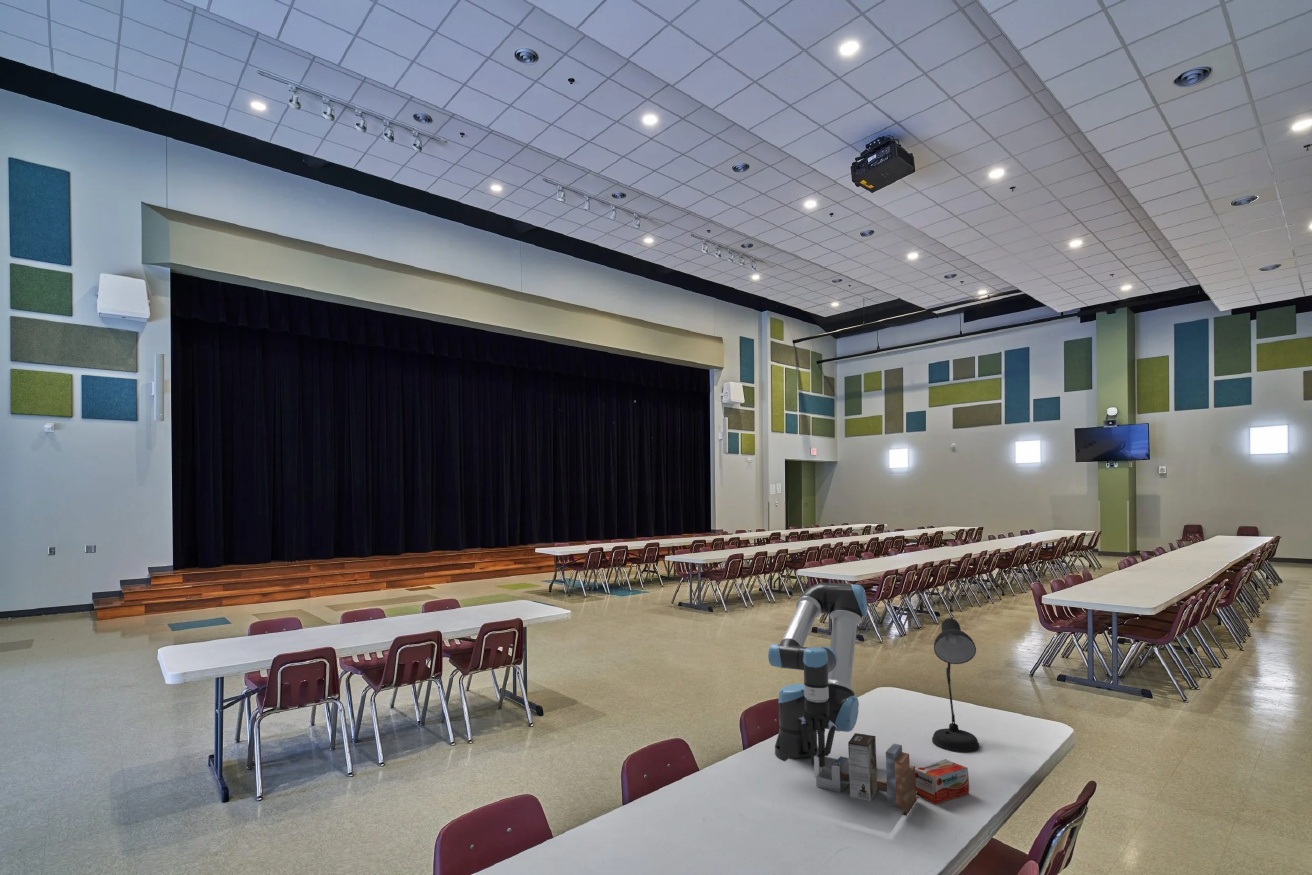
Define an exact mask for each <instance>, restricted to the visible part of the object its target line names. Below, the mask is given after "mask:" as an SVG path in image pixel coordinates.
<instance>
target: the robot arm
mask: <svg viewBox="0 0 1312 875" xmlns="http://www.w3.org/2000/svg"><path fill="white" fill-rule="evenodd" d="M795 604H796V605H795V608H796V609H795V612H794V613H793V616H792V617H791V620H790V622H789V624H788V626H787V629H786V631H785V632H784V635H783V637H782V639H781V641H780V643H772V644H770V645H769V648H768V654H767V655H768V656H767V658H768V662H769V663H768V664H770V666H772V667H776V668H780V669H790V670H799V671H803V683H794V684H788V685H785V686H783V687H781V688H780V689H779V691H778V701H777V703H778V718H779V720H778V721H779V723H778V724H779V726H778V727H779V730H778V734H777V738H776V742H775V744H774V754H775V756H776V757H777V758H778V759H780V760H784V761H788V760H789V759H792V760H809V759H811V760H810V761H811V762H810V763H811V766H813V769H814V770H813V772H814V776H813V777H814V778H815V779H816V776H817V775H818V774H819V773H820V772H821V771H822V768H823V767H825V766H826V761H825V758H826V757H827V756H829V755H830V754H831V752H832V747H833V743H834V738H835V733H836V732H844V733H849V732H851V731H853V729H855V726H856V724H857V720H858V716H859V707H860V702H859V699H858V696H857V697H856V695H855V694H856V693H855V691H854V690H853V689H852V676H853V668H854V667H853V666H854V658H855V649H856V648H855V646H856V639H857V638H856V637H857V626H858V625H860V624H861V623H862V621H863V618H865V617H867V616H868V610H869V608H868V599H867V594H866V591H865V588H864V587H863V586H862V585H861V584H853V583H836V582H835V583H834V582H819V583H817V584H813V585H812V586H810V587H808V588H807V589H806V590H805V591H804V592H802V593H801V594H800V596H799V597H798V599H797V601H796V603H795ZM821 614H828V615H829V618H830V620H832V627H831V634H830V635H831V636H830V644H829V646H822V647H818V646H817V647H816V646H814V647H812V646H811V647H807V646H804V645H805V643H806V641H807V640H808V639H807V638H808V636H809V634H810V632H811V630H812V627H813V625H814V622H815V620H816V619H817V618H819V617H820V615H821ZM826 730H828V732H827V736H825V735H826V734H825V733H826ZM825 737H826V738H825Z"/></svg>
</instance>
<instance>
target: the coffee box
mask: <svg viewBox="0 0 1312 875" xmlns="http://www.w3.org/2000/svg"><path fill="white" fill-rule="evenodd" d="M876 738H877V737H876V735H869V734H865V733H857V732H856V733H855V732H854V734H853V735H852V737H851V738H850V739H849V741H848V742H847V745H848V746H847V747H848V758H849V778H850V782H849V796H850V798H855V799H860V800H864V801H869V802H871V801H872V800H873V798H874V797H875V795H876V794H877V792H878V790H879V789H877V780H878V770H877V769H878V768H877V747H876V745H877V744H876V743H877V742H876Z"/></svg>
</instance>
